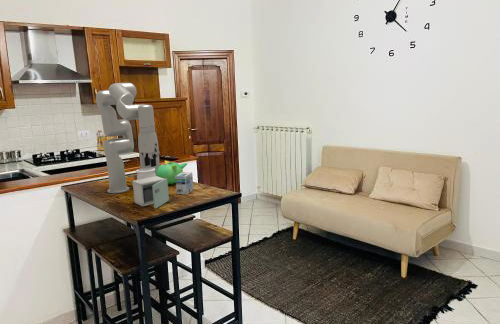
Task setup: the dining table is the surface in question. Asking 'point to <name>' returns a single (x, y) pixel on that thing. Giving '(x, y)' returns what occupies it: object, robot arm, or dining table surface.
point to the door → (160, 193)
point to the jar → (145, 173)
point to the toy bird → (170, 171)
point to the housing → (144, 190)
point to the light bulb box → (184, 182)
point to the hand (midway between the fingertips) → (150, 165)
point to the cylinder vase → (142, 162)
